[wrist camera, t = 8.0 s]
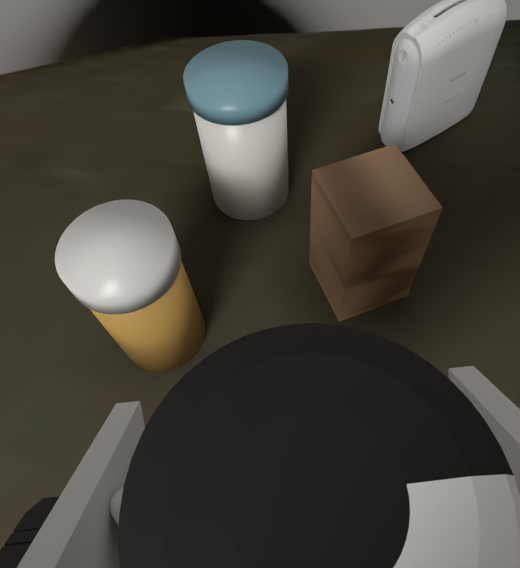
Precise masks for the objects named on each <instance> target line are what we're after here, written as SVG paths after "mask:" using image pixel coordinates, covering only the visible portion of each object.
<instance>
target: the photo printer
mask: <svg viewBox="0 0 520 568" xmlns="http://www.w3.org/2000/svg"><path fill="white" fill-rule="evenodd" d="M506 15H507V9H506V3H505V0H442V1H440V2H439V3H437V4H435V5H434V6H432V7H430V8H429V9H427V10H426V11H424V12H423V13H421V14H420V15H419V16H418V17H416V18H415V19H414V20H412V21H411V22H410V23H409V24H408V25H407V26H406V27H405V28H404V29H403V30H402V31H401V32H400V33H399V34H398V35H397V37H396V38H395V40H394V43H393V46H392V52H391V58H390V65H389V70H388V76H387V82H386V88H385V94H384V100H383V106H382V111H381V117H380V123H379V133H380V134H381V140H382V142H383V144H384V145H385V146H389V145H392V144H396V146H397V147H398V148H399V150H400V151H401V152H403V151H406V150H409V149H411V148H413V147H415V146H417V145H419V144H421V143H423V142H425V141H427V140H428V139H430V138H432V137H434V136H435V135H437V134H439V133H441V132H442V131H444V130H446V129H447V128H449V127H451V126H452V125H454V124H456V123H457V122H459V121H460V120H462V119H464V118H465V117H466V116H467V115H468V114H469V113H470V112H471V111H472V109H473V108H474V106H475V103H476V100H477V98H478V95H479V92H480V90H481V87H482V84H483V82H484V79H485V76H486V74H487V71H488V68H489V66H490V63H491V60H492V57H493V55H494V52H495V49H496V46H497V44H498V41H499V38H500V36H501V33H502V30H503V27H504V25H505V21H506Z"/></svg>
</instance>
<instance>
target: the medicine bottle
mask: <svg viewBox="0 0 520 568" xmlns="http://www.w3.org/2000/svg"><path fill="white" fill-rule="evenodd" d="M109 507H110V511H111V514H112V516H113V518H114V520H115V522H116V523H117V525H118V527H119V531H118V552H119V563H120V568H520V494H519V491H518V487H517V484H516V481H515V477H514V475H513V472H512V470H511V468H510V466H509V463H508V461H507V459H506V457H505V454H504V452H503V450H502V448H501V446H500V444H499V442H498V441H497V439H496V437H495V436H494V434H493V432H492V431H491V429H490V427H489V426H488V424H487V422H486V421H485V420H484V418H483V417H482V416H481V414H480V413H479V412H478V410H477V409H476V408H475V406H474V405H473V404H472V403H471V401H470V400H469V399H468V398H467V397H466V396H465V395H464V394H463V392H462V391H461V390H460V389H459V388H458V387H457V386H456V385H455V384H454V383H453V382H452V381H451V380H450V379H449V378H448V377H446V376H445V375H444V374H443V373H441V372H440V371H439V370H438V369H436V368H435V367H434V366H433V365H432V364H430V363H429V362H428V361H426V360H424V359H423V358H421V357H420V356H418V355H417V354H415V353H413V352H412V351H410V350H409V349H407V348H405V347H403V346H401V345H399V344H397V343H395V342H392V341H390V340H388V339H386V338H384V337H381V336H378V335H375V334H372V333H369V332H366V331H363V330H359V329H354V328H350V327H345V326H340V325H330V324H317V323H311V324H291V325H286V326H280V327H274V328H269V329H266V330H262V331H259V332H256V333H253V334H249V335H247V336H244V337H242V338H240V339H238V340H236V341H233V342H231V343H229V344H227V345H225V346H223V347H222V348H220V349H219V350H217V351H215V352H214V353H212V354H210V355H209V356H207V357H206V358H205V359H203V360H202V361H201V362H200V363H198V364H197V365H196V366H195V367H193V368H192V369H191V370H190V371H188V372H187V373H186V374H185V375H184V376H183V377H182V378H181V380H180V381H179V382H178V383H177V384H176V385H175V386H174V387H173V388H172V389H171V390H170V391H169V393H168V394H167V395H166V397H165V398H164V399H163V401H162V402H161V403H160V405H159V406H158V407H157V409H156V410H155V412H154V413H153V415H152V417H151V419H150V420H149V422H148V424H147V425H146V427H145V429H144V431H143V432H142V435H141V437H140V439H139V442H138V444H137V446H136V449H135V451H134V454H133V456H132V458H131V462H130V465H129V469H128V472H127V476H126V479H125V483H124V486H123V487H122V488H121V489H120V490H118V491H117V492H116V493H115V494H114V496H113V497H112V498H111V501H110V506H109Z"/></svg>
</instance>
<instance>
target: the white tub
mask: <svg viewBox="0 0 520 568" xmlns="http://www.w3.org/2000/svg"><path fill="white" fill-rule="evenodd" d="M183 80H184V85H185V90H186V94H187V98H188V102H189V105H190V107H191V109H192V110H193V112H194V116H195V120H196V124H197V129H198V133H199V137H200V142H201V146H202V150H203V154H204V159H205V163H206V167H207V171H208V176H209V180H210V184H211V189H212V193H213V197H214V201H215V203H216V205H217V206H218V208H219V209H220V210H221V211H222V212H223V213H225V214H226V215H228V216H230V217H232V218H236V219H240V220H257V219H261V218H265V217H267V216H269V215H271V214H273V213H275V212H276V211H277V210H279V209H280V208H281V207H282V206H283V204H284V203H285V201H286V199H287V197H288V193H289V178H288V145H287V112H286V98H287V95H288V65H287V61H286V60H285V58H284V56H283V55H282V54H281V53H280V52H279V51H278V50H276V49H275V48H273V47H271V46H269V45H267V44H264V43H261V42H256V41H248V40H236V41H228V42H223V43H219V44H216V45H213V46H211V47H209V48H207V49H205V50H203V51H201V52H200V53H198V54H197V55H196V56H195V57H193V58H192V60H191V61H190V62H189V63H188V65H187V66H186V68H185V71H184V76H183Z"/></svg>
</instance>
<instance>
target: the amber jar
mask: <svg viewBox="0 0 520 568" xmlns="http://www.w3.org/2000/svg"><path fill="white" fill-rule="evenodd" d="M55 265H56V269H57V272H58V274H59V277H60V278H61V280H62V281H63V282H64V284H65V285H66V286H67V287H68V288H69V290H70V291H71V292H72V293H73V294H74V296H75V297H76V298H77V299H78V300H79V301H80V302H81V303H82V304H83V305H84V306H86V307H87V308H89V309H90V310H91V311H92V312H93V314H94V315H95V316H96V317H97V318H98V320H99V321H100V322H101V323H102V325H103V326H104V327H105V328H106V330H107V331H108V332H109V333H110V335H111V336H112V337H113V338H114V339H115V341H116V342H117V343H118V344H119V346H120V347H121V348H122V349H123V351H124V352H125V353H126V354H127V356H128V357H129V358H130V359H131V360H132V361H133V362H134V363H135V364H136V365H137V366H139V367H141V368H142V369H145V370H148V371H152V372H166V371H171V370H174V369H177V368H179V367H181V366H183V365H184V364H186V363H187V362H189V361H190V360H191V359H192V358H193V357H194V356H195V355H196V354H197V352H198V351H199V349H200V348H201V346H202V344H203V341H204V337H205V322H204V318H203V316H202V313H201V310H200V308H199V305H198V303H197V300H196V297H195V295H194V292H193V290H192V287H191V284H190V282H189V279H188V277H187V274H186V271H185V269H184V266H183V264H182V261H181V251H180V247H179V244H178V241H177V239H176V236H175V233H174V231H173V228H172V226H171V223H170V221H169V220H168V218H167V217H166V215H165V214H164V213H163V212H162V211H160V210H159V209H158V208H156V207H155V206H153V205H151V204H148V203H146V202H142V201H137V200H116V201H110V202H107V203H103V204H100V205H98V206H95V207H93V208H91V209H89V210H88V211H86V212H84V213H83V214H81V215H80V216H79V217H77V218H76V219H75V220H74V221H73V222H72V223H71V224H70V225H69V226H68V227H67V229H66V230H65V231H64V233H63V234H62V236H61V238H60V240H59V242H58V245H57V248H56V252H55Z"/></svg>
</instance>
